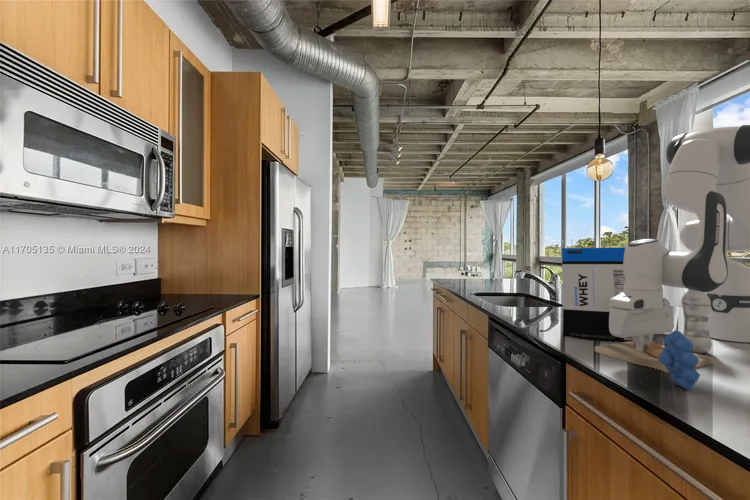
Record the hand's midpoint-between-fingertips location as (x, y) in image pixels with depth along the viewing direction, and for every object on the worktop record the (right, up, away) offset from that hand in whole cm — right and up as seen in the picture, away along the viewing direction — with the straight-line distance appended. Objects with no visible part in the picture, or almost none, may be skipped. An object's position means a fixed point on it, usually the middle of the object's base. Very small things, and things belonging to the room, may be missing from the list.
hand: (642, 350), depth 104 cm
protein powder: (+3, -2, +24) cm, 24 cm away
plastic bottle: (+20, -2, +6) cm, 21 cm away
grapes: (-5, -3, -18) cm, 19 cm away
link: (+4, -1, +2) cm, 4 cm away
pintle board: (+4, -2, +2) cm, 5 cm away
